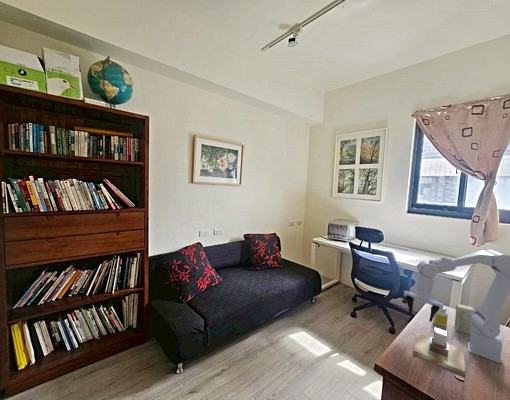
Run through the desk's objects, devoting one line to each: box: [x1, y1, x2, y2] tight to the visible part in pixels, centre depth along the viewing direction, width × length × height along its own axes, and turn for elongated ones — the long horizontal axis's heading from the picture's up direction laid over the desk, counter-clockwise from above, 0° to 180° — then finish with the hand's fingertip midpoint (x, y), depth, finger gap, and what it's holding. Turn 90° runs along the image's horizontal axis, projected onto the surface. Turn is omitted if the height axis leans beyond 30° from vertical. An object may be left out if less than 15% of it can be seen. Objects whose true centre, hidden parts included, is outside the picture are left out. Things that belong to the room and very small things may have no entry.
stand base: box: [412, 332, 466, 376], centre depth 97 cm, size 16×16×2 cm
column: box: [433, 327, 447, 348], centre depth 97 cm, size 4×4×8 cm
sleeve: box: [429, 336, 449, 357], centre depth 97 cm, size 6×7×3 cm
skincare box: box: [454, 303, 475, 335], centre depth 114 cm, size 6×4×12 cm
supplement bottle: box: [432, 305, 449, 329], centre depth 117 cm, size 5×5×10 cm
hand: (420, 316), depth 106 cm, fingers open, 7 cm apart
